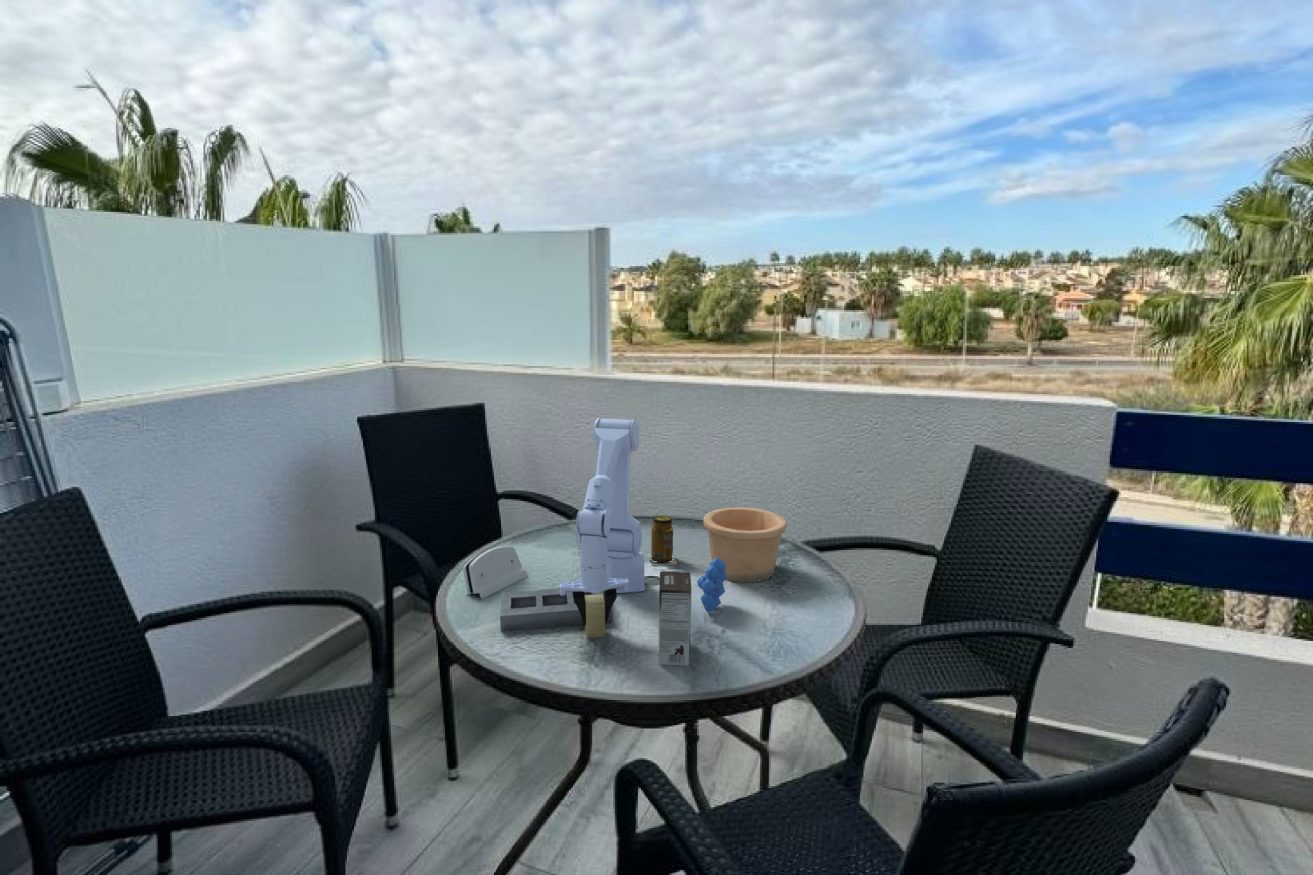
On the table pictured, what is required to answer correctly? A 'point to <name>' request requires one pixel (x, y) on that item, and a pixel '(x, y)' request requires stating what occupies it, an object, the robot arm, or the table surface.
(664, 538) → the condiment
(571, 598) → the grey block holder
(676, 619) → the coffee box
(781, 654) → the table surface
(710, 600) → the grapes
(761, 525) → the pottery
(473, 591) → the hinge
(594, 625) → the brass block
